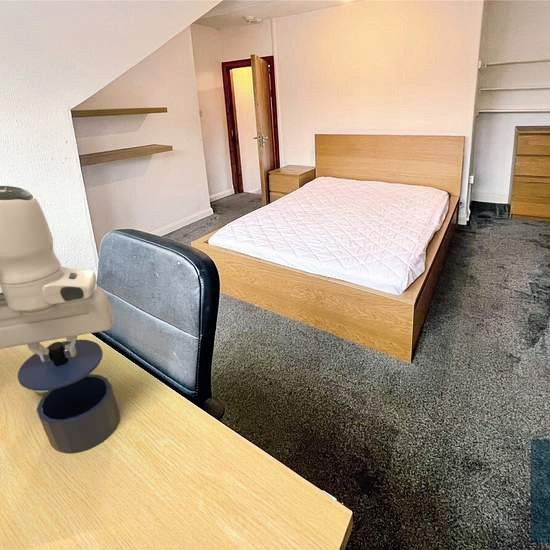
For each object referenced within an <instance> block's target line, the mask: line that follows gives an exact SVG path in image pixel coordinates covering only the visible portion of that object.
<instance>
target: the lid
mask: <svg viewBox="0 0 550 550" xmlns="http://www.w3.org/2000/svg"><path fill="white" fill-rule="evenodd" d="M70 343H71V341H70V342H68V341H67V340H65V341H55V342H53V343H50V344H49V345H48V346H46V347H45V348H46V349H47V348H48V350H49V352H50V355H51V358H52V361H49V362H43V363H42V361H41V358H40V356H39V355H37V354H36V353H34V354H32V355H31V356H29V357H28V358H27V359H26V360H25V361H24V362H23V364H22V365H21V366H20V367H19V369H18V372H17V380H18V383H19V384H20V385H21V386H22V387H23V388H24V389H26V390H30V391H33V390H35V391H46V390H53V389H57V388H61V387H64V386H67V385H70V384H72V383H75V382H77V381H79V380H80V379H82V378H84V377H85V376H87V375H88V374H92V373H93V371H95V370H96V369H97V368H98V366H99V365H100V364H101V362H102V360H103V356H104V355H103V354H104V353H103V349H102V346H101V345H100V344H99V343H97V342H95V341H93V340H90V339H76V342H75V349H76V355H75V357H70V358H65V354H64V352H63V350H64V348H65V345H69V344H70ZM35 391H34V392H35Z"/></svg>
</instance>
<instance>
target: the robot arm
mask: <svg viewBox="0 0 550 550" xmlns="http://www.w3.org/2000/svg"><path fill="white" fill-rule="evenodd" d="M0 289H1V292H0V350H2V349H3V350H4V349H8V348H14V347H21V346H27V348H28V349H29V350H30V351H31V352H32V353H34V354H35V353H36V354H37V355H39V356H40V358H41V361H42V363H43V362H49V361H52V358H51V355H50V352H49V350H48V348H47V349H46V347H45V346H44V345H42V343H43V342H49V341H55V340H61V339H66V341H68V342H70V341H71V343H70V344H69V345H65V348H64V350H63V352H64V354H65V358H70V357H75V355H76V349H75V342H76V340H78V336H84V335H88V334H94V333H100V332H106V331H109V330H110V329H111V327H112V326H113V323H114V312H113V309H112V305H111V303H110V301H109V298H108V296H107V294H106V292H105V291H104V289H103V287H101V286H99V285H97V277H96V273H95V271H92V270H87V269H78V268H71V267H65V266H62V264H61V262H60V260H59V258H58V257H57V256H56V253H55V251H54V239H53V235H52V231H51V230H50V226H49V224H48V221H47V218H46V215H45V213H44V212H43V208H42V206H41V205H40V203H39V200H37V198H36V197H35V196H34V194H32V193H31V192H30V191H29V190H26V189H24V188H22V187H18V186H13V185H12V186H11V185H0Z"/></svg>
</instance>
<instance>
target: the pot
mask: <svg viewBox="0 0 550 550" xmlns="http://www.w3.org/2000/svg"><path fill="white" fill-rule="evenodd" d="M36 413H37V416H38V418H39V421H40V423H41V425H42V428H43V430H44V432H45V434H46V437H47V439H48V442H49V444H50V446H51V447H52V448H53V449H54V450H55V451H57V452H60V453H63V454H77V453H81V452H86V451H88V450H91V449H93V448H95V447H96V446H98V445H100V444H102V443H103V442H105V441H106V440H107V439H108V438H110V437H111V435H112V434H113V433H114V432H115V431H116V429H117V428H118V426H119V422H120V418H121V415H120V409H119V406H118V402H117V399H116V396H115V393H114V389H113V385H112V384H111V382H110V380H109V379H108V377H105V376H103V375H101V374H95V373H90V374H88V375H87V376H85V377H84V378H82V379H80V380H79V381H77V382H75V383H72V384H70V385H67V386H64V387H61V388H57V389H53V390H49V391H48V392H45V393H44V395H43V396H42V397H41V398H40V400H39V402H38V405H37V408H36Z"/></svg>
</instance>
